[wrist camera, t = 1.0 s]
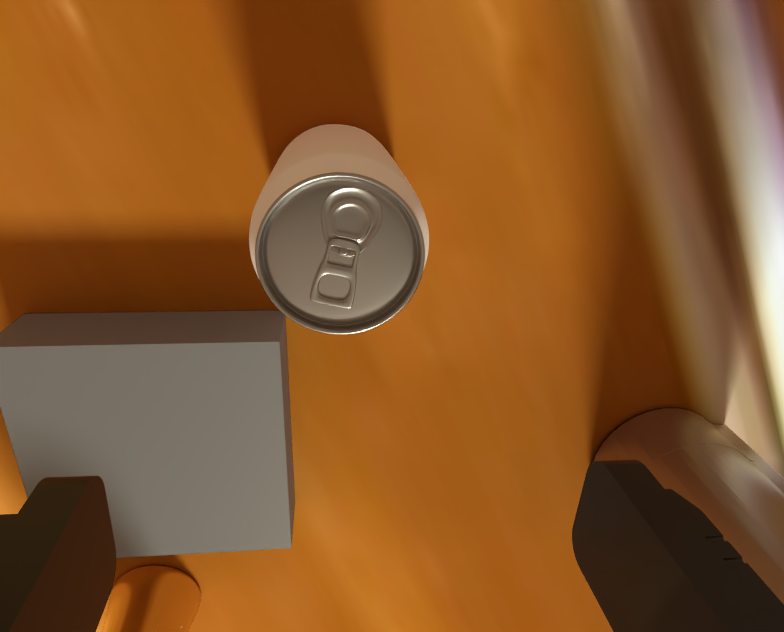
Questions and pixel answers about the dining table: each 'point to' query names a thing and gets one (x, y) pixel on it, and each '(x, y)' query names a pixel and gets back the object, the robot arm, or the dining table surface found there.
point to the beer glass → (152, 601)
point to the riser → (159, 422)
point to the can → (338, 232)
